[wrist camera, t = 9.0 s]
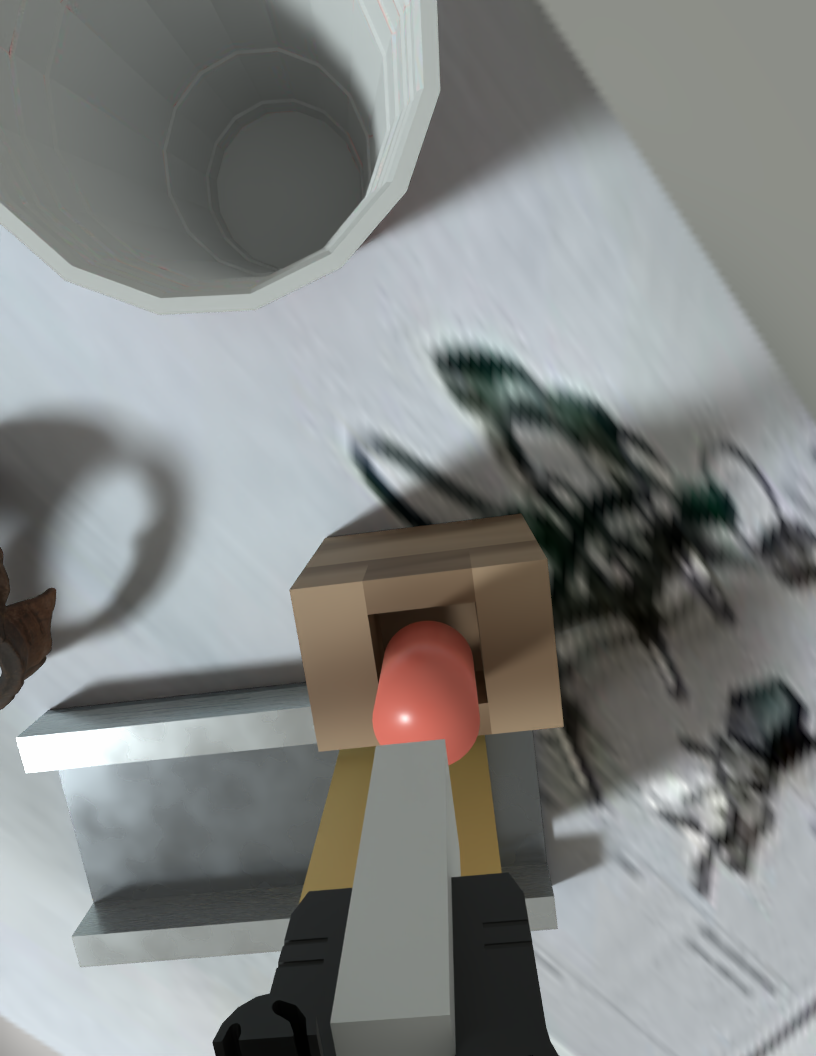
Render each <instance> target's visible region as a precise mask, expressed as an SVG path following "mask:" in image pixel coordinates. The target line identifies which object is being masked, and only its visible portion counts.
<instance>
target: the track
mask: <svg viewBox="0 0 816 1056" xmlns="http://www.w3.org/2000/svg"><path fill="white" fill-rule="evenodd" d="M16 740H17V743H18V747H19V750H20V754H21V758H22V761H23V765H24V768H25V772H26V773H32V772H42V771H51V770H58V772H59V775H60V779H61V783H62V787H63V790H64V794H65V798H66V802H67V805H68V809H69V813H70V816H71V820H72V824H73V828H74V831H75V835H76V839H77V842H78V846H79V850H80V854H81V857H82V861H83V865H84V869H85V872H86V876H87V880H88V883H89V887H90V891H91V895H92V898H93V902H94V903H93V905H92V906H91V908H90V909H89V911H88V912H87V914H86V915H85V917H84V918H83V920H82V922H81V923H80V925H79V926H78V928H77V929H76V931H75V932H74V934H73V935H72V940H73V943H74V947H75V951H76V954H77V958H78V961H79V965H80V967H90V966H103V965H115V964H127V963H140V962H152V961H165V960H177V959H190V958H202V957H214V956H227V955H239V954H252V953H264V952H277V951H281V950H282V947H283V946H284V939H285V936H286V932H287V928H288V924H289V921H290V917H291V914H292V913H293V912H294V910H295V909H296V908H297V906H298V905H299V901H300V897H301V894H302V890H303V886H304V882H305V878H306V875H307V871H308V867H309V863H310V860H311V856H312V852H313V848H314V845H315V841H316V837H317V833H318V829H319V826H320V822H321V818H322V814H323V811H324V807H325V803H326V799H327V796H328V792H329V788H330V784H331V780H332V777H333V773H334V769H335V765H336V762H337V758H338V754H339V750H331V751H321V752H319V751H318V745H317V740H316V734H315V729H314V723H313V717H312V712H311V706H310V701H309V695H308V690H307V684H306V682H304V683H295V684H286V685H277V686H267V687H258V688H249V689H240V690H231V691H221V692H212V693H203V694H194V695H185V696H175V697H166V698H157V699H148V700H139V701H129V702H120V703H111V704H102V705H93V706H83V707H74V708H65V709H56V710H48V711H47V712H46V713H45V714H43V715H42V716H41V717H40V718H39V719H38V720H36V721H35V722H34V723H33V724H32V725H31V726H29V727H28V728H27V729H26V730H25V731H24V732H23V733H21V734H20V735H19V736H18V737H17V738H16ZM485 742H486V750H487V758H488V766H489V774H490V782H491V790H492V799H493V807H494V815H495V823H496V831H497V839H498V847H499V855H500V863H501V871H502V873H507V872H509V874H510V875H511V876H512V878H513V879H514V880H515V882H516V883H517V884H518V886H519V887H520V888H521V890H522V891H523V893H524V895H525V902H526V908H527V914H528V920H529V926H530V931H538V930H550V929H558V928H557V919H556V909H555V900H554V894H553V889H552V884H551V880H550V875H549V871H548V866H547V860H546V850H545V841H544V832H543V822H542V813H541V804H540V795H539V785H538V776H537V767H536V757H535V748H534V739H533V730H528V731H519V732H509V733H499V734H489V735H485Z"/></svg>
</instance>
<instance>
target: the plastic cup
mask: <svg viewBox="0 0 816 1056" xmlns="http://www.w3.org/2000/svg"><path fill="white" fill-rule="evenodd" d="M439 93H440V68H439V41H438V14H437V0H0V224H1V225H2V226H3V227H5V228H6V229H7V230H8V231H9V232H10V233H11V234H13V235H14V236H15V237H16V238H17V239H18V240H19V241H21V242H22V243H23V244H24V245H25V246H26V247H27V248H29V249H30V250H31V251H32V252H33V253H34V254H35V255H37V256H38V257H39V258H40V259H41V260H42V261H43V262H44V263H46V264H47V265H48V266H49V267H50V268H51V269H52V270H54V271H55V272H56V273H57V274H58V275H59V276H60V277H62V278H63V279H64V280H65V281H68V282H70V283H73V284H76V285H78V286H81V287H84V288H87V289H89V290H92V291H95V292H98V293H100V294H103V295H106V296H109V297H111V298H114V299H117V300H120V301H122V302H125V303H128V304H131V305H133V306H136V307H139V308H142V309H144V310H147V311H150V312H153V313H155V314H158V315H167V314H188V313H209V312H230V311H251V310H257V309H259V308H261V307H263V306H265V305H267V304H269V303H271V302H273V301H275V300H277V299H279V298H281V297H283V296H285V295H287V294H289V293H291V292H293V291H295V290H297V289H299V288H301V287H303V286H305V285H307V284H310V283H312V282H314V281H316V280H318V279H320V278H322V277H324V276H326V275H328V274H330V273H332V272H334V271H336V270H338V269H340V268H342V267H343V265H344V264H345V263H346V262H347V261H348V260H349V258H350V257H351V256H352V255H353V254H354V253H355V251H356V250H357V249H358V248H359V247H360V245H361V244H362V243H363V242H364V241H365V240H366V238H367V237H368V236H369V235H370V234H371V233H372V231H373V230H374V229H375V228H376V227H377V226H378V224H379V223H380V222H381V221H382V220H383V219H384V217H385V216H386V215H387V214H388V213H389V212H390V210H391V209H392V208H393V207H394V206H395V204H396V203H397V202H398V201H399V200H400V199H401V197H402V196H403V195H404V194H405V193H406V192H407V189H408V186H409V183H410V180H411V177H412V174H413V171H414V168H415V165H416V162H417V159H418V156H419V153H420V150H421V147H422V144H423V141H424V138H425V135H426V132H427V129H428V126H429V123H430V120H431V117H432V114H433V111H434V108H435V105H436V102H437V99H438V96H439Z"/></svg>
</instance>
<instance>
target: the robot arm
mask: <svg viewBox="0 0 816 1056" xmlns="http://www.w3.org/2000/svg"><path fill="white" fill-rule="evenodd" d="M213 1046H214V1051H215V1055H216V1056H559V1055H558V1054H557V1052H556V1050H555V1049H554V1047H553V1045H552V1043H551V1042H550V1039H549V1035H548V1032H547V1029H546V1024H545V1018H544V1012H543V1005H542V999H541V993H540V987H539V981H538V975H537V969H536V963H535V957H534V950H533V945H532V938H531V932H530V926H529V920H528V914H527V908H526V902H525V895H524V893H523V891H522V890H521V888H520V887H519V886H518V884H517V883H516V882H515V880H514V879H513V878H512V876H511V875H510V874H509V872H507V873H496V874H484V875H472V876H461V870H460V849H459V841H458V834H457V826H456V819H455V811H454V804H453V796H452V789H451V781H450V774H449V766H448V759H447V751H446V744H445V739H440V740H430V741H420V742H410V743H400V744H390V745H380V746H376V749H375V755H374V761H373V767H372V773H371V779H370V785H369V791H368V797H367V803H366V809H365V815H364V821H363V828H362V834H361V840H360V846H359V852H358V858H357V864H356V870H355V876H354V882H353V888H342V889H331V890H319V891H309V892H308V893H307V894H306V896H305V897H304V898H303V900H302V901H301V902H300V904H299V905H298V906H297V908H296V909H295V910H294V912H293V913H292V914H291V917H290V921H289V924H288V928H287V932H286V936H285V939H284V946H283V947H282V950H281V954H280V958H279V962H278V968H277V969H276V973H275V976H274V980H273V984H272V988H271V991H270V994H266V995H262V996H258V997H255V998H254V999H252V1000H250V1001H248V1002H247V1003H245V1004H243V1005H242V1006H240V1007H238V1008H237V1009H236V1010H235V1011H234V1012H233V1013H232V1014H231V1015H230V1016H229V1017H228V1018H227V1019H226V1020H225V1021H224V1022H223V1023H222V1025H221V1027H220V1029H219V1031H218V1033H217V1034H216V1036H215V1038H214V1040H213Z"/></svg>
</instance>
